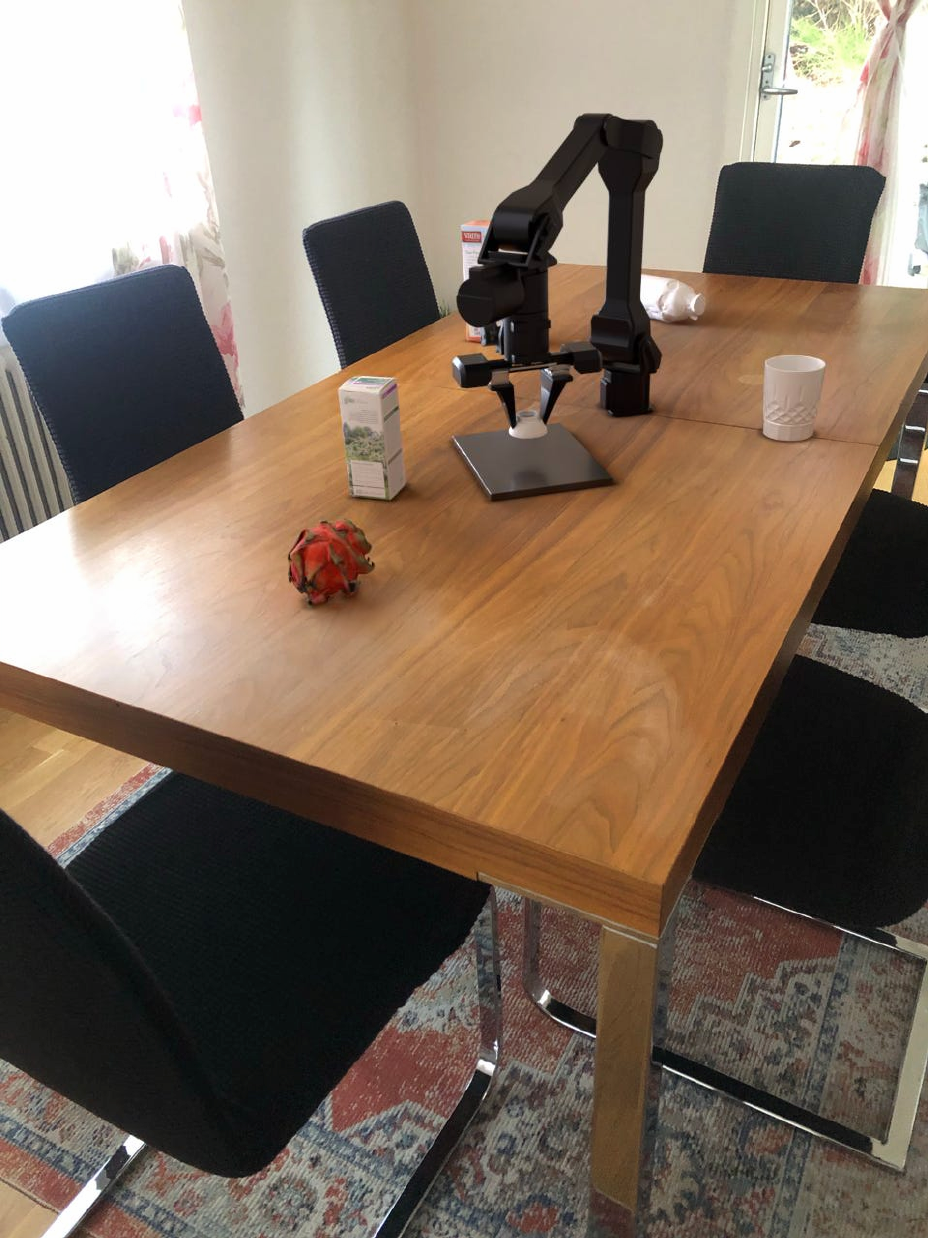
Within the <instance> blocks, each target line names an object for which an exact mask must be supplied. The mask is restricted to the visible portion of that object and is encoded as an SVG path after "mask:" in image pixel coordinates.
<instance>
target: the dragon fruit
mask: <svg viewBox="0 0 928 1238" xmlns="http://www.w3.org/2000/svg"><path fill="white" fill-rule="evenodd" d="M372 549H373V546H372V544H371V543H370V542H369V541H368V540H367V538H366V534H365V531H364V530H362V528H359V527H358V526H356V525H355V524H354V523H353V522H352V521H351V520H349V519H346V518H344V519H343V518H342V519H339V520H337V521H336V523H335V524H333V523H330V522H328V520H327V519H324V520H323V519H319V520H318V526H317V528H315V529H306V528H305V529H303V530H301V531H300V532H299V534H298V535H297V537H296V540H295V541H294V544H293V546H292V547H291V548H290V551H289V552H288V555H287V561H288V562H287V563H288V573H287V575H288V583H289V584H291V583H292V585H293V586H294V588H295V589H296V590H297V591H298V592H299V593H300V594H301V595H303V594H306V595H307V597H306V599H307V602H306V604H307V605H309V606H310V607H311V606H312V605H313V604H314V605H318V604H322V603H324V604H327V603H329V602H331V601H332V600H333V599H334V597H335V596H334V594H336V593H338V592H339V591H341V592H342V594H344V595H345V596H347V597H351V596H354V594H355V593H356V592H357V591H358V590H359V589H360V586H361V585H362V581H361V580H358V576H359V575H368V574H370V573H372V572H374V570H375V569H376V563H375V562H374V561H371V559H370V557H369V556H368V557H367V558H366V555H368V554H370V553H371V552H372ZM370 562H371V563H370ZM332 595H333V596H332ZM331 596H332V597H331Z"/></svg>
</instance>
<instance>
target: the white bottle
mask: <svg viewBox="0 0 928 1238" xmlns="http://www.w3.org/2000/svg"><path fill="white" fill-rule="evenodd" d="M640 300H641V302H642V304H643V306H644V308H645V310H646V312H647V314H648V316H649V318H650V320H651V319H652V320H656V321H661V322H665V323H669V324H670V323H675V322H680V321H685V320H686V319H688V318H690V319H691V320H694V321H697V320H698V318H699V317H698V316H701V315H703V313H705V309H706V306H707V300H706V298H705V296H704V295H703V293H702V292H700V293H698V294H696V292H695V290H694V288H693V287H692V286H690V285H688V284H685V283H684V282H682V281H680V280H678V279H675V278H671V277H670V278H669V277H662V276H657V275H650V274H645V273H641V292H640Z"/></svg>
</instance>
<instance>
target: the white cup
mask: <svg viewBox="0 0 928 1238" xmlns="http://www.w3.org/2000/svg"><path fill="white" fill-rule="evenodd" d="M826 366H827V363H826V362H825V361H824V360H823V359H820V358H818V357H815V356H810V355H803V354H783V355H776V356H772V357H769V358H767V359H766V360H765V361H764V371H763V372H764V373H763V374H764V375H763V389H762V390H763V391H762V395H763V397H762V416H763V417H762V434H763V435H764V436H765V437H767V439H770V440H775V441H779V442H787V443H788V442H802V441H805V440H808V439H810V438H811V437H813V434H814V428H815V422H816V418H817V415H818V410H819V405H820V402H821V395H822V389H823V383H824V379H825V373H826Z"/></svg>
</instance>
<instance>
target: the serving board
mask: <svg viewBox="0 0 928 1238" xmlns="http://www.w3.org/2000/svg"><path fill="white" fill-rule="evenodd" d="M546 427H547V433H546V434H545V435H544V436H542V437H539V438H536V439H528V440H524V439H518V438H516V437H513V436H511V435H510V434H509V429H510V428H507V429H498V430H492V431H484V432H476V433H468V434H459V435H452V444H453V445H454V447H455V449H456V450H457V451H458V452H459V454H460V455H461V457H462V458H463V460H464V462H465V463H466V465H467V467H468V468H469V470H470V471H471V472H472V474H473V475H474V477H475V478H476V480H477V482H478V483H479V485H480V486H481V488H482V490H483V491H484V492H485V494H486V495H487V497H488V499H489V500H490V502H496V501H504V500H511V499H519V498H526V497H532V496H540V495H547V494H554V493H560V492H561V493H562V492H568V491H569V492H570V491H576V490H583V489H591V488H598V487H606V486H612V485H613V484H614V483H613V482H614V477H613V476H612V475H611V474H610V472H608V471H607V470H606V469H605V467H603V466H602V464H601V463H600V462H599V461H598V460H597V459H596V458H595V457H594V456H593V455H592V454H591V453H590V452H589V451H588V450H587V449H586V448H585V447H584V446H583V445H582V443H580V442H579V440H577V439H576V437H574V435H573V434H571V432H570V431H569V430H568V429H567V428H566V427H565V426H564V425H563V424H562V423H561V422H554V423H547V424H546Z"/></svg>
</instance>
